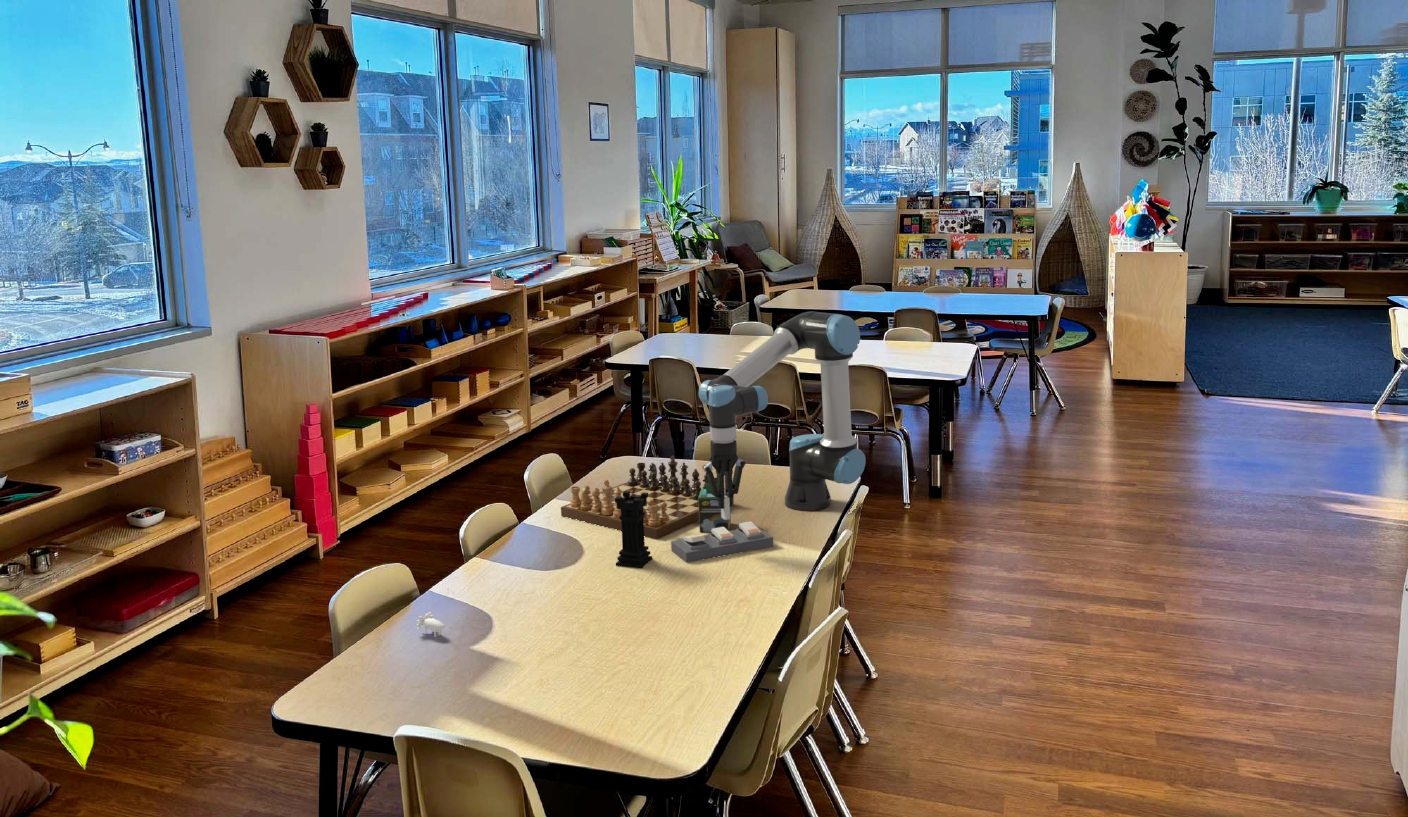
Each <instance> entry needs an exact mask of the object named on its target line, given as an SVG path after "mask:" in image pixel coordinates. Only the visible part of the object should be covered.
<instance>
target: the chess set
mask: <svg viewBox="0 0 1408 817" xmlns="http://www.w3.org/2000/svg"><path fill="white" fill-rule="evenodd" d="M667 464H668V468H669V469H668V473H670V476H669V478H668V475H667V472H666V469H667V468H666V466H665V464H664V462H660V465H659V466H658V469H657V465H656V464H655V463H654V462H651V464H649V467H648V469H647V470H645V468H646V463H645V462H638V463H636V467H637V468H636V469H637V470H638V471H637V475H636V469H635V467H634V468H633V467H632V468H629V471H628V473H629V477H630V478H629V480H628V481H627V482H624V483H621V484H619V485H617V486H614V487H613V486H611V485H610V482H609V480H608V479H605V480H604V482H603V483H604V485H603V486H602V487H601V490H602V491H600V488H598V487H597V486H594V487H593V489H592V492H591V490H590V489H591V487H590V485H584V486H583V488H582V490H581V494H579V493H580V486H571V487H570V492H571V493H572V497H571V499H570V502H569V503H568V504H565V505H562V506H560V516H563V517H562V518H565V517H568V518H567V519H569V518H571V519H570V520H573V519H577V520H579V521H578V522H581V521H585V522H587V523H586V524H589V523H591V524H590V525H594V524H596V525H595V526H598V525H599V526H598V527H602V526H604V527H603V528H606V527H608V528H607V529H610V528H614V529H617V530H616V531H618V530H621V531H620V532H622V524H621V519H619V517H620V516H621V509H617V503H616V502H615V498H616V497H622V498H623V492H624V491H630V496H639V497H641V493H643V492H645V493H648V497H647V504H646V505H645V506H643V512H645V516H644V536H645V537H644V538H648V539H653V540H657V541H658V540H660V539H661V538H664V537H666V536H669V535H670V534H673V533H675V532H677V531H679V530H681V529H684V528H687V527H689V526H691V525H692V524H695V523H698V522H699V505H698V497H699V495H700V491H701V490H702V489H706V484H707V483H709V482H708V479H707V475H706V474H704V476H703V478H702V482H703V483H704V484H703V486H702V487H701V485H702V482H701V481H700V478H699V477H700V473H699V471H698V468H694V469H693V471H692V474H691V477H692V479H691V481H693V483H692V485H690V483H691V481H690V479H689V478H688V477H687V476H688V475H689V472H688V470H687V469H688V468H689V466H688V465H686V462H682V465H680V466H679V468H680V470H681V471H680V472H679V475H680V476H681V481H680V480H679V477H677V475H676V473H677V472H678V471H679V470H678V469H677V466H678V461H676V458H675V456H674V455H671V456H670V461H668V462H667ZM657 470H659V472H658V471H657ZM647 471H649V475H648V472H647ZM657 474H659V475H660V477H659V478H657V477H658V476H657ZM647 475H648V476H647ZM635 476H636V477H635ZM714 479H715V482H716V483H717V477H714ZM579 495H580V496H581V498H580V496H579ZM734 497H735V496H734ZM734 497H733V498H732V505H733V506H734V505H735V502H734V501H735V500H734V499H735V498H734ZM577 520H576V521H577ZM585 522H584V523H585ZM614 529H613V530H614Z"/></svg>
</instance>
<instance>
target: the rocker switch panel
mask: <svg viewBox="0 0 1408 817" xmlns="http://www.w3.org/2000/svg"><path fill="white" fill-rule="evenodd" d="M755 526H756V525H755ZM756 527H757V528H758V529H759V530H760V531H761V534H759V535H754V536H747V535H746V534H745V533H744V531H743V530H742V529H741V528H740V527H739V528H736V529H733V530H729V532H730V533H731V534H732V535H733V539H729V540H723V541H720V540H719V539H718V538H717V537H716V536H715V535H714V534H713V533H712V532H711V533H708V534H704V535H702V536H703V537H705V540H703V541H698V542H688V541H684V539H683V538H680V539H677V540H671V541H670V549H671V552H672V554H673V553H674V555H676V557H679V558H680V559H681V560H682V561H683V562H685V563H686V564H687V563H693V562H699V561H704V560H710V559H714V558H713V557H715V558H719V557H718V556H721V557H724V556H723V555H726V556H730V555H729V554H731V555H735V554H734V553H737V554H741V553H740V552H742V553H747V552H752V550H753V551H757V550H758V551H759V550H763V549H767V548H769V549H770V548H773V547H774V536H772V535H771V534H769V533H768V532H766V531H764V530H763V529H761V528H760V527H758V526H756ZM709 558H710V559H709ZM703 559H704V560H703Z"/></svg>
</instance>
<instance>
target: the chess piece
mask: <svg viewBox="0 0 1408 817" xmlns="http://www.w3.org/2000/svg"><path fill="white" fill-rule="evenodd" d="M647 497H648V493H645V492H643V493H641V497H639V496H630V491H624V492H623V498H622V497H616V498H615V502H616V503H617V509H621V516H620V517H619V519H621V524H622V531H621V544H622V549H621V550H620V551H619V552H618V556H617V561H616V563H615V567H622V568H631V569H632V568H633V569H639V570H640V569H643V568H644V567H645V566H647V564H649V563H650V562H651V561H652V560H653V556H652V555H651V551H650V550H649V546H648V545H645V537H644V516H645V512H643V506H645V505H646V504H647Z"/></svg>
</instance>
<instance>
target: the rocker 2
mask: <svg viewBox="0 0 1408 817" xmlns="http://www.w3.org/2000/svg"><path fill="white" fill-rule="evenodd" d="M738 527H739V529H740V528H741V529H742V530H743V531H744V533H745V534H746V535H747V536H754V535H759V534H761V531H760V530H759V529H758V528H759V527H758V526H757V527H758V528H757V527H756V525H755V524H754V523H753V522H752V521H751V520H750V521H745V522H740V523H738Z"/></svg>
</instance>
